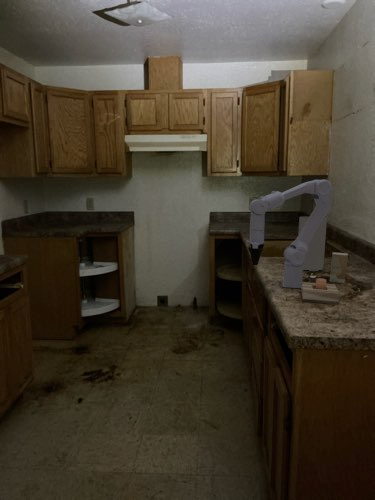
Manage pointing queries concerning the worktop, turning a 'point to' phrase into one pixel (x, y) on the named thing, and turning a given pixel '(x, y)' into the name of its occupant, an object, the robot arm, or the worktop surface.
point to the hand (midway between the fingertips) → (255, 263)
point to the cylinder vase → (314, 247)
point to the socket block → (319, 293)
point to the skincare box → (338, 267)
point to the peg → (320, 283)
